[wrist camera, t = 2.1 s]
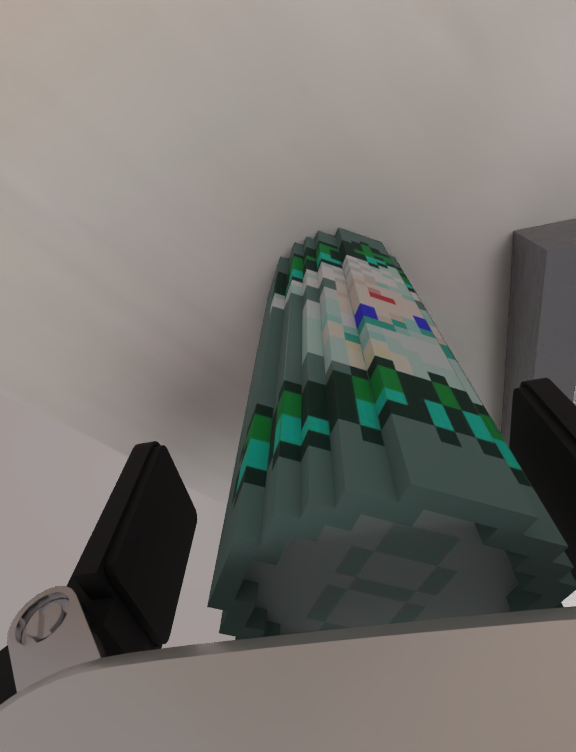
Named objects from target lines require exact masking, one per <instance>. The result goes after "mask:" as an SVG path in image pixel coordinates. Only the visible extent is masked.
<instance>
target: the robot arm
mask: <svg viewBox="0 0 576 752" xmlns="http://www.w3.org/2000/svg"><path fill="white" fill-rule="evenodd" d="M509 449H510V450H511V452H512V454H513V455H514V457H515V459H516V460H517V462H518V464H519V465H520V467H521V469H522V470H523V472H524V474H525V475H526V477H527V479H528V480H529V482H530V484H531V485H532V487H533V489H534V490H535V492H536V494H537V495H538V497H539V499H540V500H541V502H542V504H543V505H544V507H545V509H546V510H547V512H548V514H549V515H550V517H551V519H552V520H553V522H554V524H555V525H556V527H557V529H558V530H559V532H560V534H561V535H562V537H563V539H564V540H565V542H566V544H567V545H568V548H567V549H566V550H565V553H566V555H567V557H568V558H569V560H570V562H571V563H572V565H573V567H574V568H573V569H572V570H571V571H570V572H571V574H572V575H573V577H574V579H575V581H576V406H575V404H574V403H573V402H572V401H571V400H570V399H569V398H568V397H567V396H566V395H565V394H564V393H563V392H562V391H561V390H560V389H559V388H558V387H557V386H556V385H555V384H554V383H553V382H552V381H551V380H550V379H549V378H540V379H534V380H528V381H523V382H521V384H520V387H519V388H515V389H514V391H513V400H512V414H511V428H510V442H509ZM196 524H197V513H196V509H195V507H194V505H193V503H192V501H191V499H190V496H189V494H188V492H187V490H186V488H185V486H184V484H183V482H182V479H181V477H180V475H179V473H178V471H177V469H176V467H175V464H174V462H173V460H172V458H171V456H170V454H169V452H168V449H167V448H166V446H164V445H162V446H161V445H160V444H159V443H158V442H156V441H154V442H148V443H142V444H137V445H135V446H134V448H133V450H132V452H131V454H130V456H129V458H128V460H127V462H126V464H125V467H124V469H123V471H122V473H121V475H120V477H119V479H118V481H117V483H116V485H115V487H114V489H113V492H112V493H111V495H110V498H109V500H108V502H107V504H106V506H105V508H104V510H103V512H102V514H101V516H100V518H99V520H98V522H97V524H96V527H95V529H94V531H93V533H92V535H91V537H90V539H89V541H88V543H87V545H86V547H85V549H84V551H83V554H82V555H81V557H80V560H79V562H78V564H77V566H76V568H75V570H74V572H73V574H72V576H71V578H70V580H69V582H68V584H67V586H56V587H53V588H50V589H47V590H45V591H43V592H41V593H40V594H38V595H36V596H35V597H34V598H32V599H31V600H30V601H29V602H28V603H26V604H25V606H24V607H23V608H22V609H21V610H20V611H19V612H18V614H17V615H16V617H15V618H14V620H13V621H12V623H11V626H10V628H9V631H8V637H7V644H8V645H7V646H6V647H5V648H3V649H2V650H1V651H0V752H576V606H575V607H563V608H550V609H538V610H526V611H516V612H505V613H495V614H485V615H475V616H464V617H454V618H444V619H434V620H423V621H413V622H404V623H394V624H384V625H374V626H364V627H355V628H345V629H335V630H326V631H316V632H306V633H297V634H287V635H278V636H269V637H260V638H251V639H241V640H232V641H223V642H214V643H204V644H196V645H187V646H180V647H171V648H163V649H161V648H162V644H166V643H167V641H168V639H169V636H170V633H171V629H172V624H173V620H174V616H175V612H176V607H177V604H178V599H179V595H180V591H181V587H182V582H183V578H184V574H185V570H186V565H187V562H188V557H189V553H190V549H191V545H192V541H193V536H194V532H195V528H196Z"/></svg>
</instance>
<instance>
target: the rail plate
mask: <svg viewBox="0 0 576 752" xmlns="http://www.w3.org/2000/svg"><path fill="white" fill-rule="evenodd" d="M540 378H549V379H550V380H551V381H552V382H553V383H554V384H555V385H556V386H557V387H558V388H559V389H560V390H561V391H562V392H563V393H564V394H565V395H566V396H567V397H568V398H569V399H570V400H571V401H572V402H573V396H574V391H575V385H576V219H572V220H567V221H562V222H557V223H552V224H547V225H542V226H536V227H531V228H526V229H521V230H516V231H514V239H513V255H512V271H511V287H510V302H509V318H508V334H507V350H506V365H505V381H504V397H503V413H502V429H501V435H502V437H503V439H504V440H505V442H506V444H507V445H508V447H509V442H510V428H511V414H512V400H513V391H514V389H515V388H519V387H520V384H521V382H523V381H528V380H534V379H540Z"/></svg>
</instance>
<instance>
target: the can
mask: <svg viewBox="0 0 576 752" xmlns="http://www.w3.org/2000/svg"><path fill="white" fill-rule="evenodd" d="M567 548H568V545H567V544H566V542H565V540H564V539H563V537H562V535H561V534H560V532H559V530H558V529H557V527H556V525H555V524H554V522H553V520H552V519H551V517H550V515H549V514H548V512H547V510H546V509H545V507H544V505H543V504H542V502H541V500H540V499H539V497H538V495H537V494H536V492H535V490H534V489H533V487H532V485H531V484H530V482H529V480H528V479H527V477H526V475H525V474H524V472H523V470H522V469H521V467H520V465H519V464H518V462H517V460H516V459H515V457H514V455H513V454H512V452H511V450H510V449H509V447H508V445H507V444H506V442H505V440H504V439H503V437H502V435H501V434H500V432H499V430H498V429H497V427H496V425H495V424H494V422H493V420H492V419H491V417H490V415H489V414H488V412H487V410H486V409H485V407H484V405H483V404H482V402H481V400H480V399H479V397H478V395H477V394H476V392H475V390H474V389H473V387H472V385H471V384H470V382H469V380H468V379H467V377H466V375H465V374H464V372H463V370H462V369H461V367H460V365H459V364H458V362H457V360H456V359H455V357H454V355H453V354H452V352H451V350H450V349H449V347H448V345H447V344H446V342H445V340H444V339H443V337H442V335H441V334H440V332H439V330H438V329H437V327H436V325H435V324H434V322H433V320H432V319H431V317H430V315H429V314H428V312H427V310H426V309H425V307H424V305H423V304H422V302H421V300H420V299H419V297H418V295H417V294H416V292H415V290H414V289H413V287H412V285H411V284H410V282H409V280H408V279H407V277H406V275H405V274H404V272H403V270H402V269H401V267H400V265H399V264H398V262H397V260H396V259H395V257H393V256H390V255H388V253H387V251H386V249H385V248H384V246H383V244H382V242H379V241H376V240H373V239H370V238H367V237H364V236H361V235H359V234H356V233H353V232H350V231H347V230H344V229H341V228H339V229H338V231H337V234H336V236H332V235H329V234H326V233H323V232H320V231H318V232H317V235H316V238H315V239H312V238H309V237H306V239H305V242H304V245H300V244H297V243H294V246H293V249H292V252H291V255H290V259H286V258H282V257H280V260H279V264H278V267H277V270H276V273H275V276H274V279H273V283H272V286H271V289H270V292H269V295H268V299H267V305H266V310H265V315H264V320H263V325H262V330H261V335H260V340H259V345H258V350H257V356H256V361H255V366H254V371H253V376H252V381H251V386H250V391H249V396H248V402H247V407H246V412H245V417H244V422H243V427H242V432H241V437H240V442H239V447H238V453H237V458H236V463H235V468H234V473H233V478H232V483H231V488H230V493H229V499H228V504H227V509H226V514H225V519H224V524H223V529H222V535H221V539H220V545H219V550H218V555H217V560H216V565H215V570H214V575H213V580H212V585H211V591H210V596H209V601H208V606H207V607H211V608H215V609H220V610H223V613H222V618H221V625H220V630H219V633H221V634H226V635H231V636H236V638H235V640H241V639H251V638H260V637H269V636H278V635H287V634H297V633H306V632H316V631H326V630H335V629H345V628H355V627H364V626H374V625H384V624H394V623H404V622H413V621H423V620H434V619H444V618H454V617H464V616H475V615H485V614H495V613H505V612H516V611H526V610H538V609H550V608H563V605H562V603H561V602H562V601H563V600H564V599H565V598H567V597H568V596H569V595H570V594H571V593H573V592H574V591H575V590H576V581H575V579H574V577H573V575H572V574H571V572H570V571H571V570H572V569H573V568H574V567H573V565H572V563H571V562H570V560H569V558H568V557H567V555H566V553H565V550H566V549H567Z"/></svg>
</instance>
